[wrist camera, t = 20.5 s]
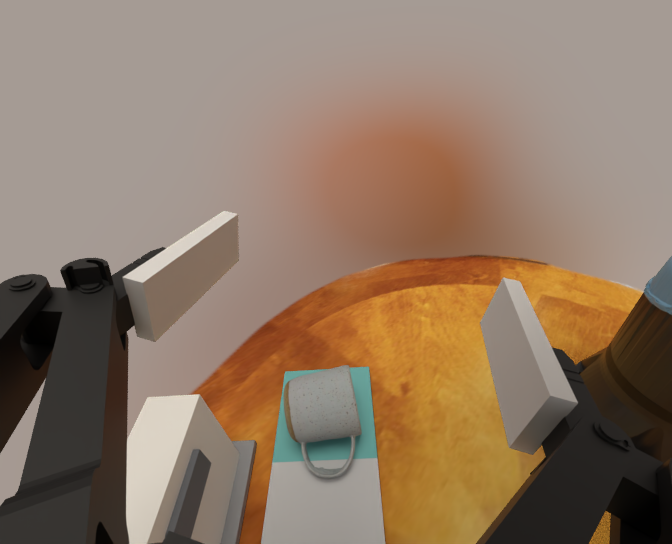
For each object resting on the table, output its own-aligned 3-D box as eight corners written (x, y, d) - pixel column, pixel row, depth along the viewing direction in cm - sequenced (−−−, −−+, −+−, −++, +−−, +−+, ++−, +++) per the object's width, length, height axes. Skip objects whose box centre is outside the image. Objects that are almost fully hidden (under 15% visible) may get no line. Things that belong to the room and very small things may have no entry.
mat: (369, 370, 46) (368, 366, 46) (391, 613, 28) (391, 612, 27) (286, 374, 47) (285, 371, 46) (253, 615, 28) (251, 614, 28)
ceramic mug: (292, 398, 43) (280, 365, 38) (352, 386, 44) (348, 352, 39) (297, 489, 35) (282, 461, 30) (371, 473, 35) (369, 443, 30)
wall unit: (256, 443, 40) (219, 379, 31) (217, 660, 27) (133, 653, 18) (193, 446, 40) (139, 383, 32) (124, 660, 27) (-2, 653, 18)
